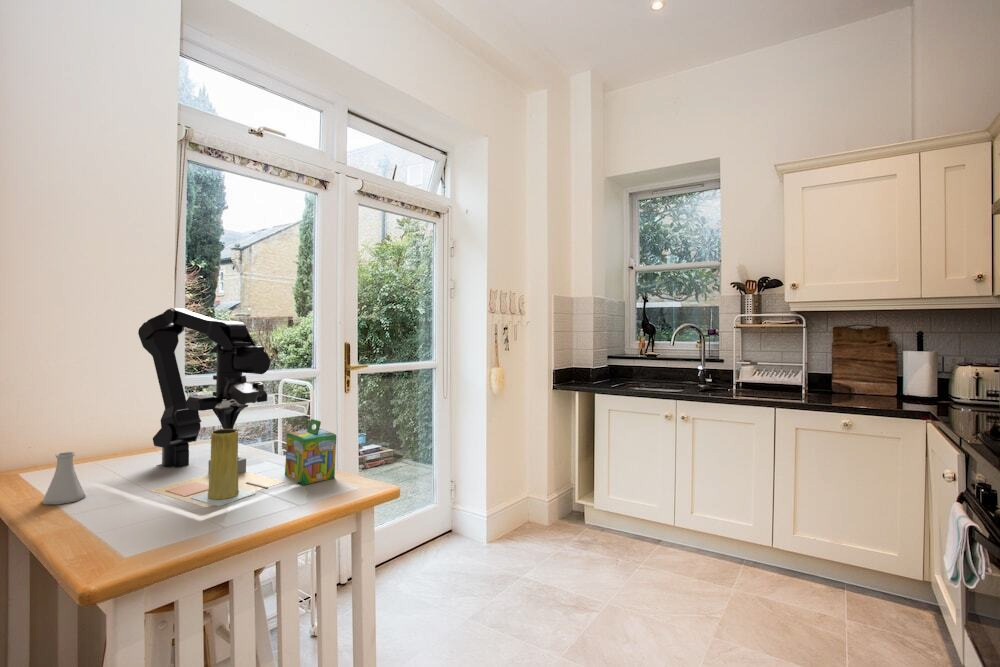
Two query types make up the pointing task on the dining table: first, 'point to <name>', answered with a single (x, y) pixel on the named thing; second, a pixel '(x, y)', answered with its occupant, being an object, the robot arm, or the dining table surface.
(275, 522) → the dining table surface
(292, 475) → the chalk box
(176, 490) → the picture board
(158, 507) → the dining table surface
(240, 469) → the button housing
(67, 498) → the flask
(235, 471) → the vase
